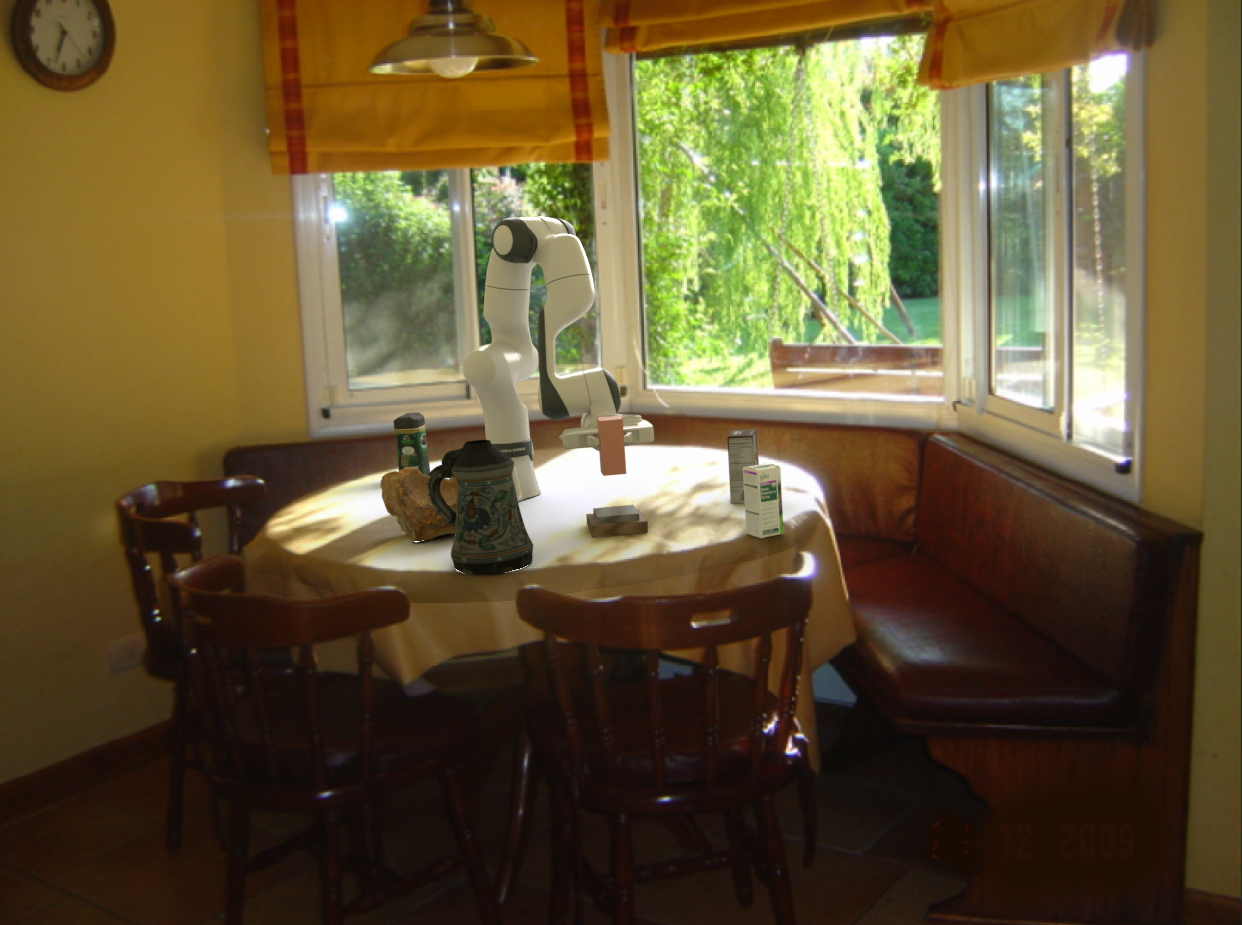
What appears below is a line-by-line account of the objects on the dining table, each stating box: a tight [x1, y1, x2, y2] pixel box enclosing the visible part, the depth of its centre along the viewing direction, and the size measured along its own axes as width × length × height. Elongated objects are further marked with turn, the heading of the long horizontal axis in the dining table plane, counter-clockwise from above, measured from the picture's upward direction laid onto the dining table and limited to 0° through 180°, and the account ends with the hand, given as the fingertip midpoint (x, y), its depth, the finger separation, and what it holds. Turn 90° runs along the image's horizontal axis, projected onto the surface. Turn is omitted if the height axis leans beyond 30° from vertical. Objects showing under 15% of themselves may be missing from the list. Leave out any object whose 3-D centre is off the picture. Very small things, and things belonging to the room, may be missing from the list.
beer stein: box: [427, 439, 534, 577], centre depth 235 cm, size 16×19×25 cm
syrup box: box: [743, 462, 785, 539], centre depth 247 cm, size 6×6×14 cm
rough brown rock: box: [379, 467, 457, 541], centre depth 263 cm, size 23×17×15 cm
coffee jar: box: [393, 412, 431, 477], centre depth 331 cm, size 10×8×19 cm
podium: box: [585, 504, 649, 538], centre depth 260 cm, size 12×12×4 cm
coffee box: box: [726, 428, 760, 504], centre depth 280 cm, size 9×6×16 cm
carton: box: [597, 416, 627, 477], centre depth 257 cm, size 5×5×12 cm
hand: (611, 441), depth 256 cm, fingers closed on carton, 5 cm apart
